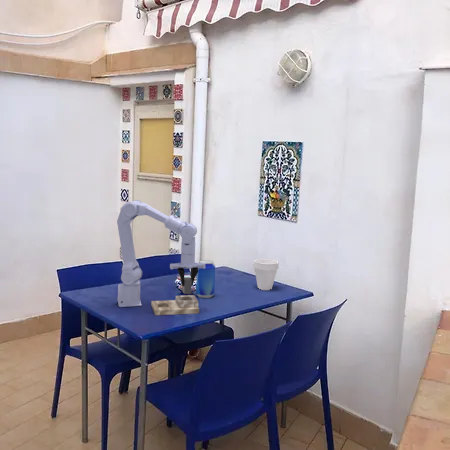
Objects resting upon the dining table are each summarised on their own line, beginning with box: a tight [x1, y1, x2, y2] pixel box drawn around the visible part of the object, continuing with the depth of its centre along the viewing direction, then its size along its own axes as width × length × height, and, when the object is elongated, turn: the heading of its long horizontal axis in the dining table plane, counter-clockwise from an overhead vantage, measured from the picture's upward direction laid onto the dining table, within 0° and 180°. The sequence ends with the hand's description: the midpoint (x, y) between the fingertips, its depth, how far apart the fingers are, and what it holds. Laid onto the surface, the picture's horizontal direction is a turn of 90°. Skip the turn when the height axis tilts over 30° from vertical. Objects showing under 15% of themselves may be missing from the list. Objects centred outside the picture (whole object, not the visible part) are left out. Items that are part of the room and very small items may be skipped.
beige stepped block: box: [150, 294, 200, 316], centre depth 214 cm, size 18×13×4 cm
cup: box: [253, 258, 280, 291], centre depth 252 cm, size 12×12×14 cm
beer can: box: [195, 259, 216, 299], centre depth 235 cm, size 8×8×16 cm
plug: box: [182, 276, 193, 295], centre depth 215 cm, size 3×4×6 cm
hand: (187, 285), depth 215 cm, fingers closed on plug, 3 cm apart
